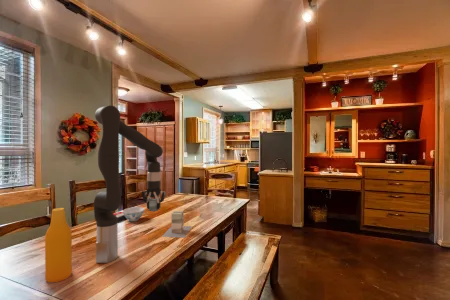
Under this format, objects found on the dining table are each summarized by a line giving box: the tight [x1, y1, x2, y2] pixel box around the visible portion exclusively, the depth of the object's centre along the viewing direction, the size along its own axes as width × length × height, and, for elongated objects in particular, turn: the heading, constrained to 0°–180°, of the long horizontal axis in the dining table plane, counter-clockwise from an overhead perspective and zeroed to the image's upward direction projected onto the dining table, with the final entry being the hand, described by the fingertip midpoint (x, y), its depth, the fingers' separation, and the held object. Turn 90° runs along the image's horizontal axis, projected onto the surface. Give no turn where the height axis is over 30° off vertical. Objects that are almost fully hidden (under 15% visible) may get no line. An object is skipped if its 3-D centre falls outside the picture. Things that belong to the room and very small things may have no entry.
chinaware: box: [122, 206, 145, 222], centre depth 173 cm, size 15×15×8 cm
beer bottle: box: [44, 207, 73, 284], centre depth 97 cm, size 9×9×29 cm
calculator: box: [113, 211, 128, 223], centre depth 175 cm, size 11×4×15 cm
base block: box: [171, 220, 185, 233], centre depth 146 cm, size 6×6×6 cm
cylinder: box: [148, 198, 159, 212], centre depth 133 cm, size 5×5×6 cm
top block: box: [171, 210, 185, 224], centre depth 146 cm, size 6×6×6 cm
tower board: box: [161, 225, 193, 239], centre depth 146 cm, size 19×14×2 cm
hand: (153, 208), depth 133 cm, fingers closed on cylinder, 5 cm apart
